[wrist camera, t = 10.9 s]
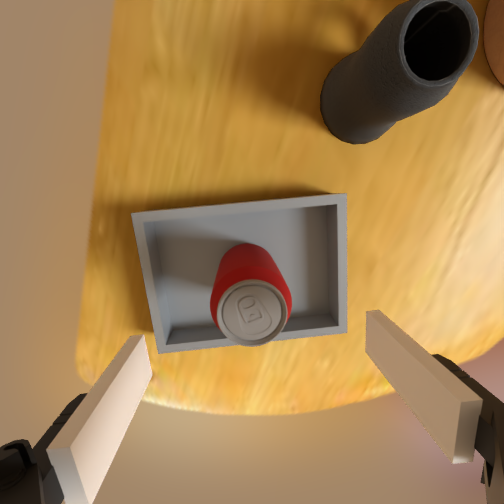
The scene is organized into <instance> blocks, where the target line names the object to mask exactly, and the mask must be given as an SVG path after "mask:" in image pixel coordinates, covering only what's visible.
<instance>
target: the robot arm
mask: <svg viewBox="0 0 504 504" xmlns="http://www.w3.org/2000/svg"><path fill="white" fill-rule="evenodd" d="M365 352H366V353H367V354H368V356H369V357H370V358H371V360H372V361H373V362H374V363H375V365H376V366H377V367H378V369H379V370H380V371H381V372H382V374H383V375H384V376H385V378H386V379H387V380H388V381H389V383H390V384H391V385H392V387H393V388H394V389H395V390H396V392H397V393H398V394H399V396H400V397H401V398H402V400H403V401H404V402H405V403H406V405H407V406H408V407H409V409H410V410H411V411H412V412H413V414H414V415H415V416H416V418H417V419H418V420H419V421H420V423H421V424H422V425H423V427H424V428H425V429H426V430H427V432H428V433H429V434H430V436H431V437H432V438H433V440H434V441H435V442H436V443H437V445H438V446H439V447H440V449H441V450H442V451H443V452H444V454H445V455H446V456H447V458H448V459H449V460H450V461H451V463H452V464H456V463H465V462H472V461H473V457H474V451H475V449H476V450H477V451H478V452H479V453H480V454H481V455H482V456H483V458H484V459H485V461H484V466H483V472H482V478H481V483H483V484H485V487H486V499H487V504H504V403H503V402H501V401H500V400H499V399H498V398H497V397H495V396H494V395H493V394H492V393H490V392H489V391H488V390H487V389H485V388H484V387H483V386H482V385H480V384H479V383H478V382H477V381H476V380H474V379H473V378H470V376H469V375H468V374H467V373H466V372H464V371H462V370H461V368H459V367H458V366H457V365H456V364H455V363H453V362H452V361H451V360H449V359H447V358H445V357H443V356H441V355H439V354H434V355H431V354H429V353H428V352H427V351H426V350H425V349H424V348H423V347H421V346H420V345H419V344H418V343H417V342H416V341H414V340H413V339H412V338H411V337H410V336H409V335H408V334H406V333H405V332H404V331H403V330H402V329H401V328H399V327H398V326H397V325H396V324H395V323H394V322H392V321H391V320H390V319H389V318H388V317H387V316H386V315H384V314H383V313H382V312H381V311H380V310H373V311H366V348H365ZM151 377H152V370H151V365H150V361H149V356H148V352H147V347H146V342H145V338H144V334H143V335H134V336H130V337H129V339H128V340H127V341H126V343H125V344H124V345H123V347H122V348H121V349H120V351H119V352H118V353H117V355H116V356H115V357H114V359H113V360H112V361H111V363H110V364H109V366H108V367H107V368H106V370H105V371H104V372H103V374H102V375H101V376H100V378H99V379H98V380H97V382H96V383H95V384H94V386H93V387H92V388H91V390H90V391H89V392H88V393H85V394H80V395H78V396H77V397H76V398H75V399H74V400H72V401H71V402H70V403H69V404H68V405H67V406H66V408H65V409H64V410H63V411H62V413H61V414H60V416H59V417H58V418H57V419H56V420H55V421H54V422H53V425H52V426H50V428H49V429H48V430H47V431H46V433H45V434H44V435H43V436H42V438H41V439H40V440H39V441H38V443H37V444H36V445H35V446H34V448H33V449H32V448H31V445H30V443H29V441H28V440H24V439H21V440H16V441H12V442H10V443H8V444H5V445H3V446H2V447H0V504H61V503H62V501H63V499H64V500H65V503H66V504H92V503H93V501H94V499H95V497H96V495H97V492H98V490H99V488H100V486H101V484H102V482H103V480H104V477H105V475H106V473H107V471H108V469H109V466H110V464H111V462H112V460H113V458H114V456H115V454H116V452H117V450H118V447H119V445H120V443H121V441H122V439H123V437H124V435H125V433H126V430H127V428H128V426H129V424H130V422H131V419H132V418H133V415H134V413H135V411H136V409H137V407H138V405H139V403H140V400H141V398H142V396H143V394H144V392H145V390H146V388H147V385H148V383H149V381H150V379H151Z"/></svg>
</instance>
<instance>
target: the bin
mask: <svg viewBox="0 0 504 504" xmlns="http://www.w3.org/2000/svg"><path fill="white" fill-rule="evenodd" d="M131 217H132V222H133V227H134V232H135V237H136V242H137V248H138V253H139V258H140V263H141V268H142V273H143V278H144V283H145V288H146V294H147V299H148V304H149V309H150V314H151V319H152V324H153V329H154V334H155V339H156V345H157V350H158V354H162V353H171V352H180V351H189V350H198V349H207V348H216V347H225V346H234V345H239V344H236V343H234V342H233V341H231V340H230V339H228V338H227V337H226V336H225V335H224V334H223V333H222V332H221V331H220V330H219V328H218V327H217V326H216V324H215V323H214V321H213V318H212V316H211V312H210V298H211V294H212V289H213V285H214V282H215V278H216V274H217V271H218V267H219V264H220V261H221V259H222V257H223V256H224V254H225V253H226V252H227V251H228V250H229V249H231V248H232V247H234V246H236V245H240V244H246V243H249V244H255V245H258V246H260V247H262V248H264V249H265V250H266V251H267V252H268V253H269V254H270V255H271V257H272V258H273V260H274V262H275V263H276V265H277V267H278V269H279V270H280V272H281V274H282V276H283V278H284V280H285V282H286V284H287V286H288V288H289V290H290V293H291V297H292V309H291V314H290V316H289V319H288V321H287V323H286V324H285V326H284V328H283V330H282V331H281V333H280V334H279V335H278V336H277V337H276V338H275V339H273V340H272V341H278V340H287V339H296V338H305V337H314V336H323V335H332V334H341V333H347V193H331V194H321V195H310V196H299V197H288V198H277V199H266V200H256V201H245V202H234V203H223V204H212V205H201V206H190V207H180V208H169V209H158V210H147V211H141V212H135V213H131Z"/></svg>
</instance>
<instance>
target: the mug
mask: <svg viewBox="0 0 504 504" xmlns="http://www.w3.org/2000/svg"><path fill="white" fill-rule="evenodd" d="M478 38H479V26H478V20H477V16H476V14H475V12H474V10H473V8H472V6H471V4H470V3H469V2H468V1H466V0H409V1H407V2H405V3H402V4H400V5H398V6H397V7H396V8H394V9H393V10H392V11H391V12H390V13H389V14H388V15H387V16H385V17H384V19H383V20H382V21H381V22H380V23H379V25H378V26H377V27H376V28H375V29H374V31H373V32H372V33H371V34H370V35H369V37H368V38H367V39H366V41H365V42H364V44H363V46H362V47H361V48H360V50H359V51H357V52H354V53H352V54H350V55H349V56H347V57H345V58H344V59H342V60H341V61H340V62H339V63H338V64H337V65H336V66H334V67H333V68H332V69H331V71H330V73H329V74H328V76H327V78H326V79H325V81H324V84H323V88H322V91H321V95H320V110H321V113H322V117H323V120H324V123H325V125H326V126H327V127H328V129H329V130H330V132H331V133H332V134H333V135H334V136H336V137H337V138H338V139H340V140H341V141H344V142H347V143H350V144H366V143H368V142H371V141H373V140H376V139H378V138H379V137H380V136H381V135H382V134H384V133H385V132H386V131H387V130H388V129H390V128H391V127H392V126H393V125H394V124H395V123H396V121H399V120H402V119H405V118H407V117H409V116H412V115H414V114H416V113H419V112H421V111H423V110H425V109H427V108H430V107H432V106H434V105H436V104H437V103H438V102H439V101H441V100H442V99H443V98H444V97H445V96H447V95H448V93H449V92H450V90H451V89H452V88H453V86H454V85H455V83H456V82H457V80H458V78H459V77H460V76H461V75H462V74H463V72H464V71H465V70H466V68H467V67H468V65H469V64H470V63H471V61H472V59H473V57H474V54H475V51H476V49H477V46H478Z"/></svg>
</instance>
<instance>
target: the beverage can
mask: <svg viewBox="0 0 504 504" xmlns="http://www.w3.org/2000/svg"><path fill="white" fill-rule="evenodd" d="M291 309H292V297H291V293H290V290H289V288H288V286H287V284H286V282H285V280H284V278H283V276H282V274H281V272H280V270H279V269H278V267H277V265H276V263H275V262H274V260H273V258H272V257H271V255H270V254H269V253H268V252H267V251H266V250H265V249H264V248H262V247H260V246H258V245H255V244H249V243H246V244H240V245H236V246H234V247H232V248H231V249H229V250H228V251H227V252H226V253H225V254H224V256H223V257H222V259H221V261H220V264H219V267H218V271H217V274H216V278H215V282H214V285H213V289H212V294H211V298H210V312H211V316H212V318H213V321H214V323H215V324H216V326H217V327H218V328H219V330H220V331H221V332H222V333H223V334H224V335H225V336H226V337H227V338H228V339H230V340H231V341H233V342H234V343H236V344H239V345H242V346H249V347H254V346H260V345H264V344H266V343H268V342H270V341H272V340H273V339H275V338H276V337H277V336H278V335H279V334H280V333H281V331H282V330H283V328H284V326H285V324H286V323H287V321H288V319H289V316H290V314H291Z"/></svg>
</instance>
